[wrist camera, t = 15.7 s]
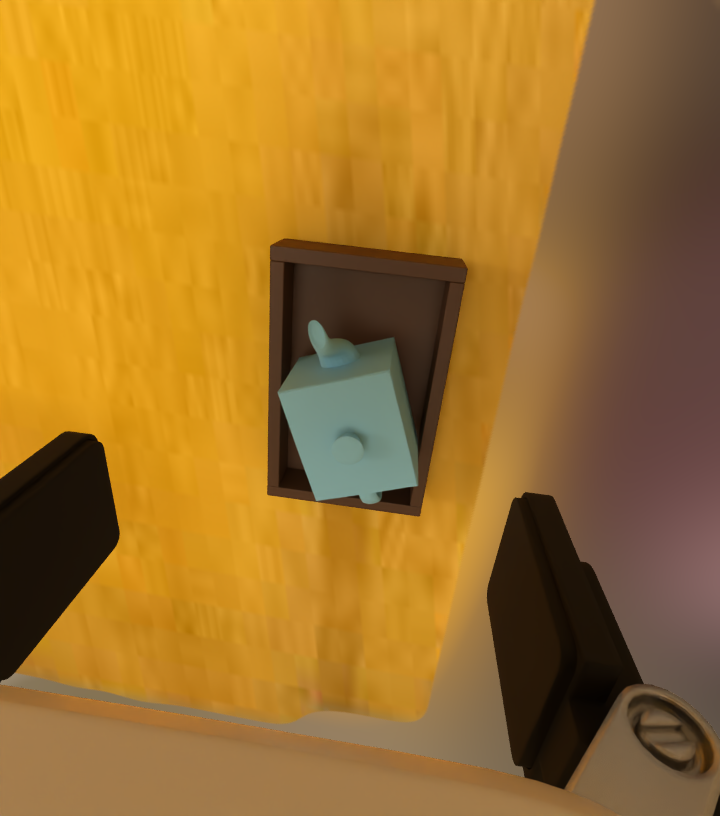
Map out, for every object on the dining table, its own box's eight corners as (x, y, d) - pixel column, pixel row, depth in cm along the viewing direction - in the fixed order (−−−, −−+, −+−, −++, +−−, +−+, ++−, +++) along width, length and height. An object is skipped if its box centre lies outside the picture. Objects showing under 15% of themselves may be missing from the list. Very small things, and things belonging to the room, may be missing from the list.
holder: (284, 238, 28) (270, 245, 26) (462, 259, 28) (467, 268, 25) (278, 470, 36) (267, 495, 33) (419, 490, 35) (419, 517, 32)
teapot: (286, 301, 29) (248, 339, 23) (382, 278, 28) (372, 310, 21) (338, 463, 34) (319, 534, 28) (421, 450, 33) (424, 520, 26)
